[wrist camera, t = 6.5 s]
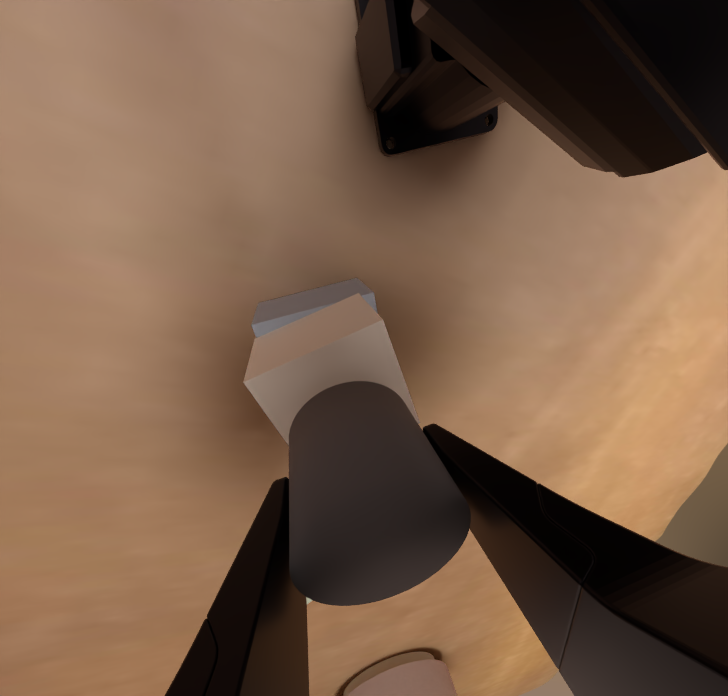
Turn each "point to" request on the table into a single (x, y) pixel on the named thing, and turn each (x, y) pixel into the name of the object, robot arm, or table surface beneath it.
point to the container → (404, 677)
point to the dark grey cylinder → (367, 498)
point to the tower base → (306, 304)
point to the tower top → (322, 359)
